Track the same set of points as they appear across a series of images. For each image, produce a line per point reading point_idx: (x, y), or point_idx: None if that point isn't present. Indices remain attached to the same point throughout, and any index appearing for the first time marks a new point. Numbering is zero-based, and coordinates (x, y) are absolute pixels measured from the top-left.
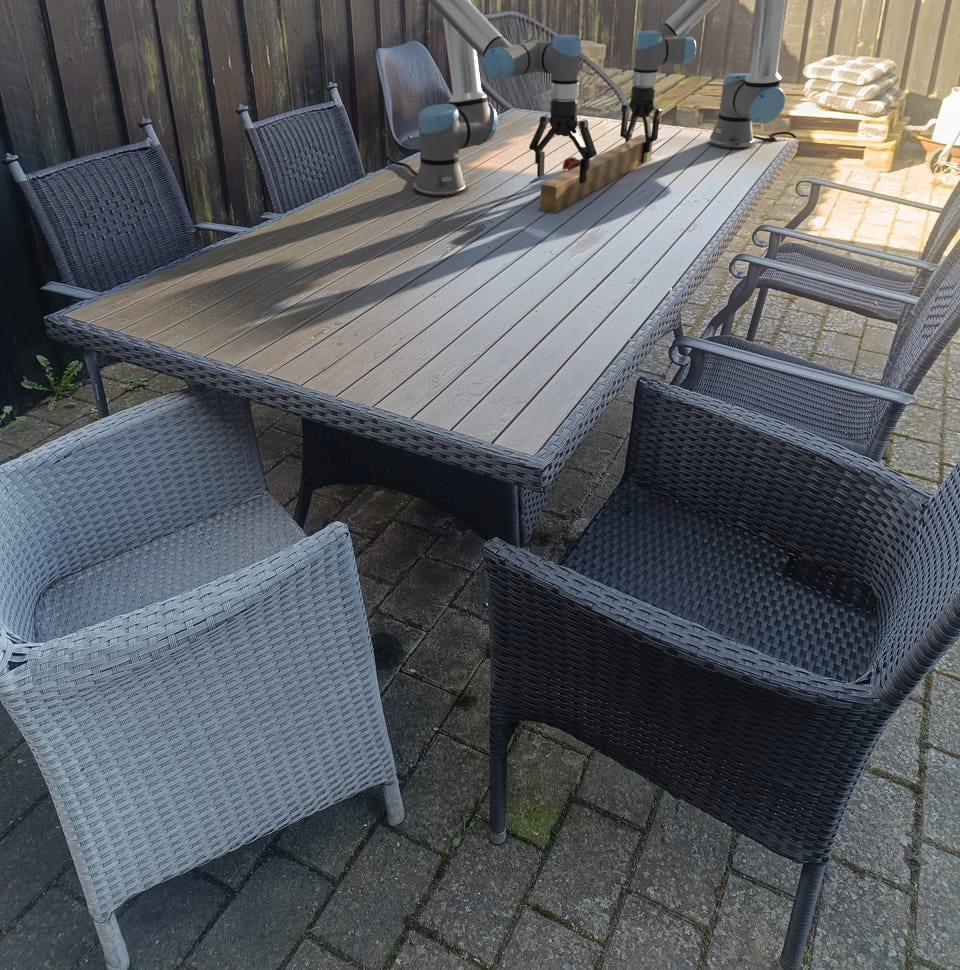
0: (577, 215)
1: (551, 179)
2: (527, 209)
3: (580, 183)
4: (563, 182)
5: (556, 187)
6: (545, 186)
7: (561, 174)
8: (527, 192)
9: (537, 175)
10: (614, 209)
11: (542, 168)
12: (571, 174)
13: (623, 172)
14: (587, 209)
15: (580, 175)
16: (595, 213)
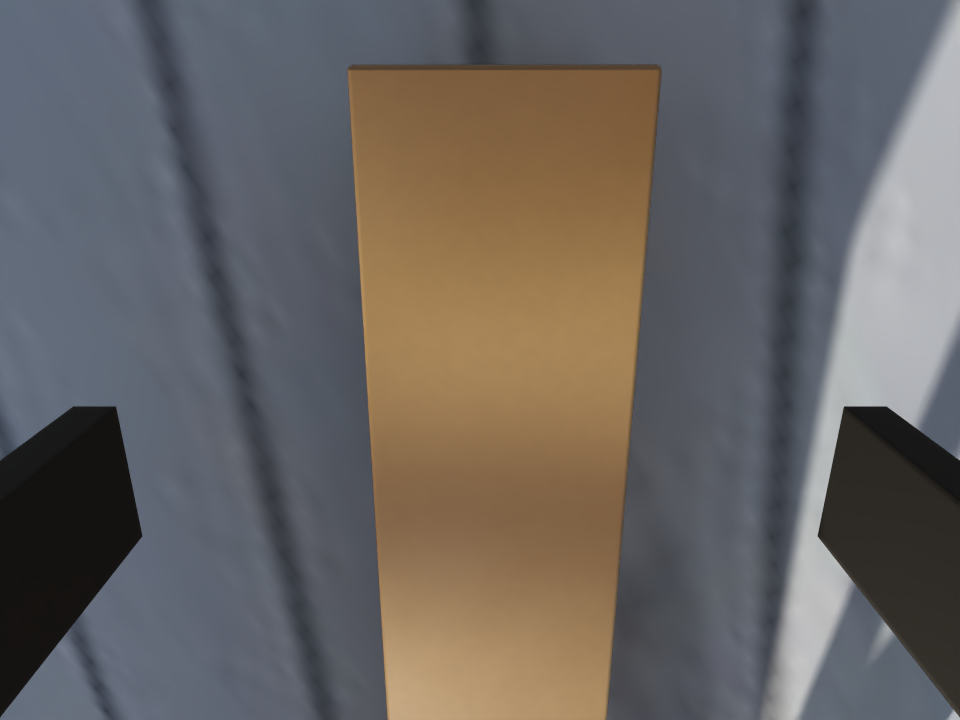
0: (161, 151)
1: (622, 413)
2: (737, 22)
3: (91, 407)
4: (382, 373)
5: (351, 90)
6: (563, 65)
7: (601, 673)
8: None
9: (894, 417)
10: None
11: (889, 556)
12: None
13: None
14: (198, 376)
15: (21, 468)
16: (64, 310)
